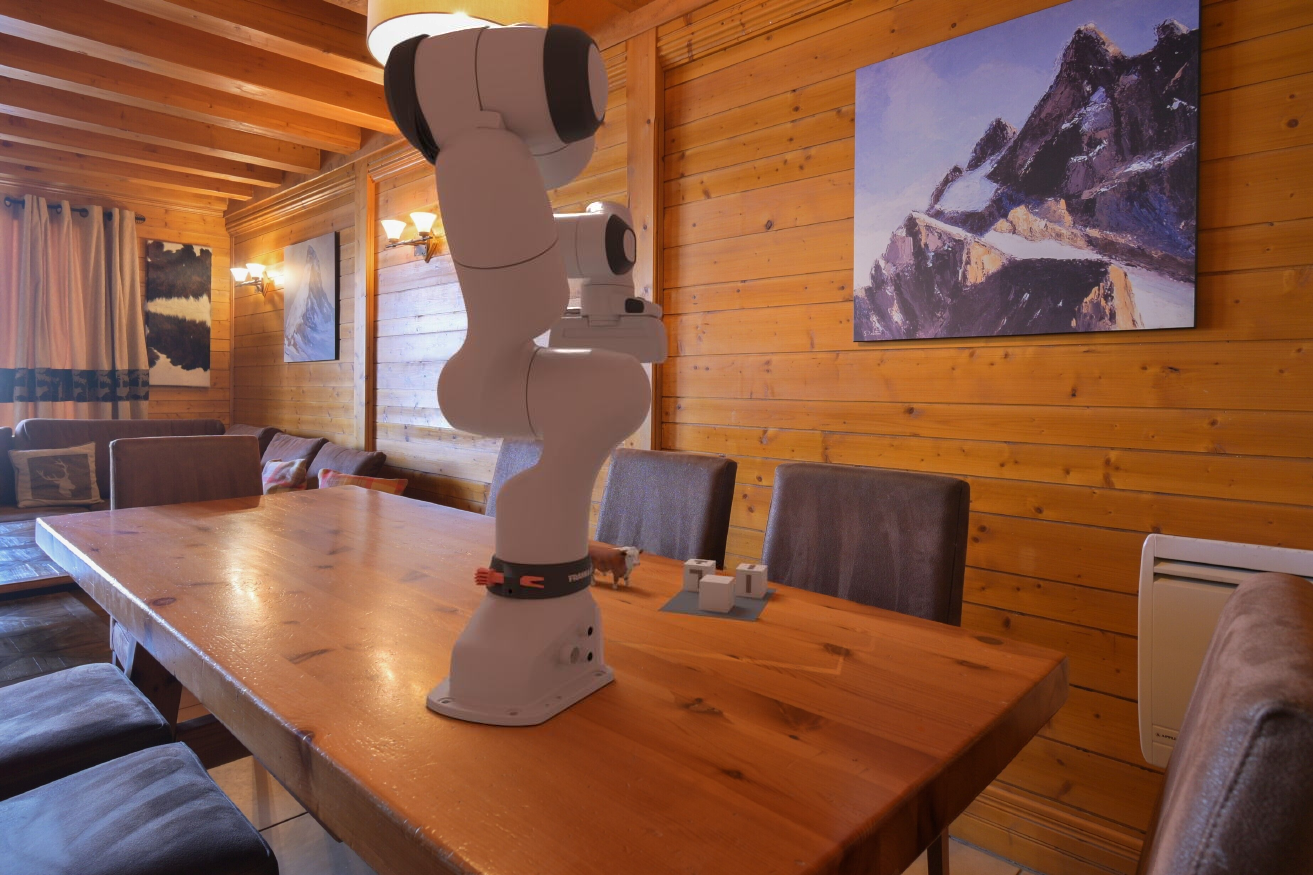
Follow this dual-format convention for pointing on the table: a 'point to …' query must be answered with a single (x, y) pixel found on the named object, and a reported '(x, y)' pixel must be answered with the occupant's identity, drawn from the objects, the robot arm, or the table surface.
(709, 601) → the plain block
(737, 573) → the digit block 1
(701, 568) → the digit block 7
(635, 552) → the bull figurine
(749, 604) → the mat
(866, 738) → the table surface
